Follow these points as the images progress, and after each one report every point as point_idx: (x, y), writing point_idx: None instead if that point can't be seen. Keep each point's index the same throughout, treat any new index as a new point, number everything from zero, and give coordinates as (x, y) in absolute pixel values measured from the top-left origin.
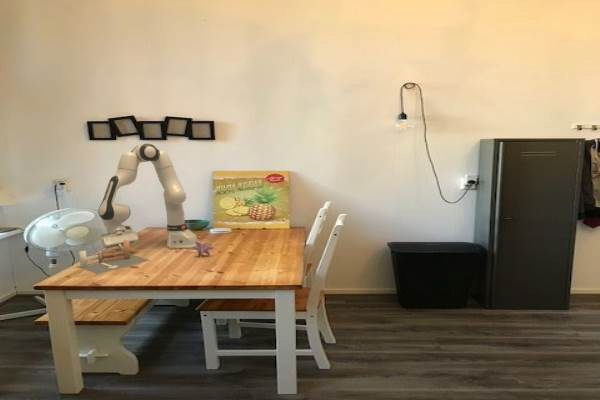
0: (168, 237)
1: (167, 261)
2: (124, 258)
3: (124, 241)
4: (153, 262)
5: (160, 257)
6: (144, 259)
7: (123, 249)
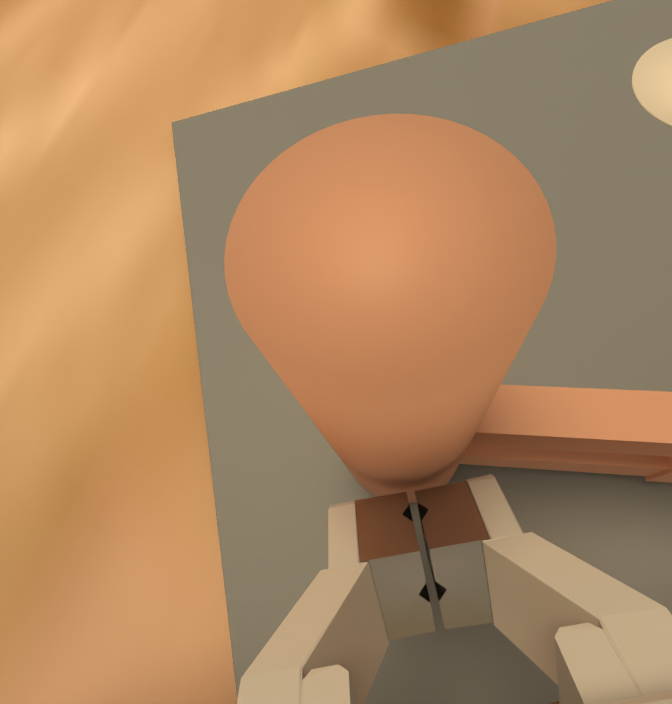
0: None
1: (65, 14)
2: (455, 475)
3: (497, 145)
4: (186, 51)
5: (8, 203)
6: (213, 192)
7: (479, 481)
